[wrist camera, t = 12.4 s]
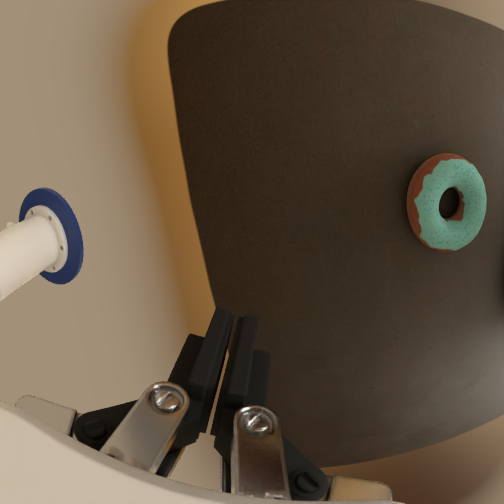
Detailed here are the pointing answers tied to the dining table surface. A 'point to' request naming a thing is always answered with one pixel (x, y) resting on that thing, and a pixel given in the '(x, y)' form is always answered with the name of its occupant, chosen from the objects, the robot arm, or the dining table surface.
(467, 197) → the donut
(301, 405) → the dining table surface
